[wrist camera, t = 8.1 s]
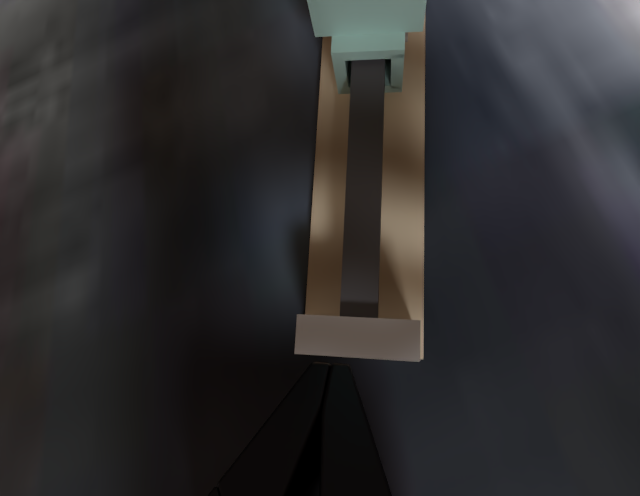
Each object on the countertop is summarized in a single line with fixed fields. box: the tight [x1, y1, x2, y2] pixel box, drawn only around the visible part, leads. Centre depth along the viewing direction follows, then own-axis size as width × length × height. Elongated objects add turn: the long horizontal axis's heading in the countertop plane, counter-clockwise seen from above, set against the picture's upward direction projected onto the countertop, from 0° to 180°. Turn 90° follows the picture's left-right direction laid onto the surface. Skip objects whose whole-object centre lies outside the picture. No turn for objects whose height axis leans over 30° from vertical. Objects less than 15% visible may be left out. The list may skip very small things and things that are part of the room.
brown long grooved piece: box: [294, 18, 425, 362], centre depth 22 cm, size 20×6×6 cm, turn 177°
